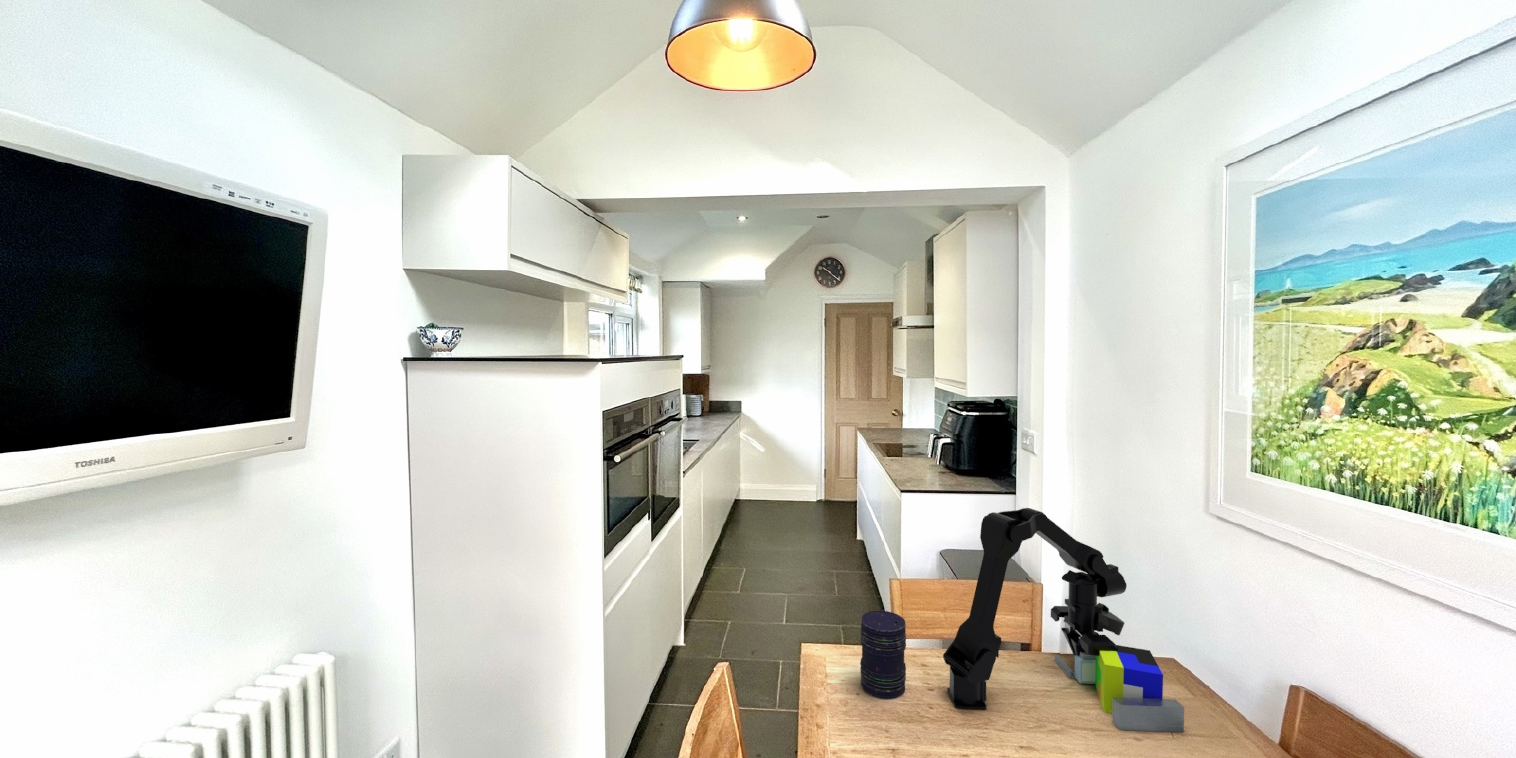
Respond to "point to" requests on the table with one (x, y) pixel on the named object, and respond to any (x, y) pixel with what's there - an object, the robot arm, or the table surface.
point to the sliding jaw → (1085, 668)
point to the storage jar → (883, 654)
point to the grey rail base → (1142, 711)
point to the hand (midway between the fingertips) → (1081, 665)
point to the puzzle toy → (1127, 676)
